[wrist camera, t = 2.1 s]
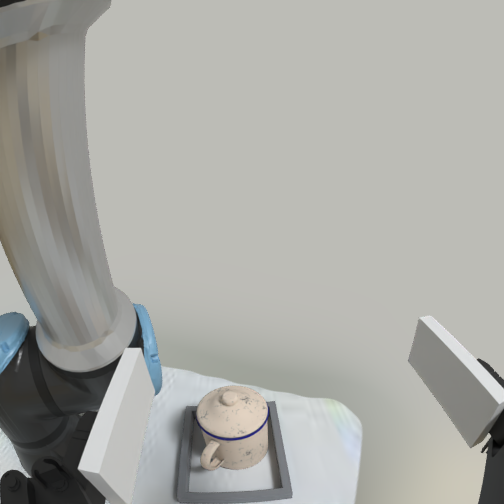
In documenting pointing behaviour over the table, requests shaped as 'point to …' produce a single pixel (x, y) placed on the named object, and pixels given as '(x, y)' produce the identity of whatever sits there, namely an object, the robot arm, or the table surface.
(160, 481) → the table surface
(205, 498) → the holder tray
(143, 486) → the table surface
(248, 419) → the teacup with lid
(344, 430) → the table surface
